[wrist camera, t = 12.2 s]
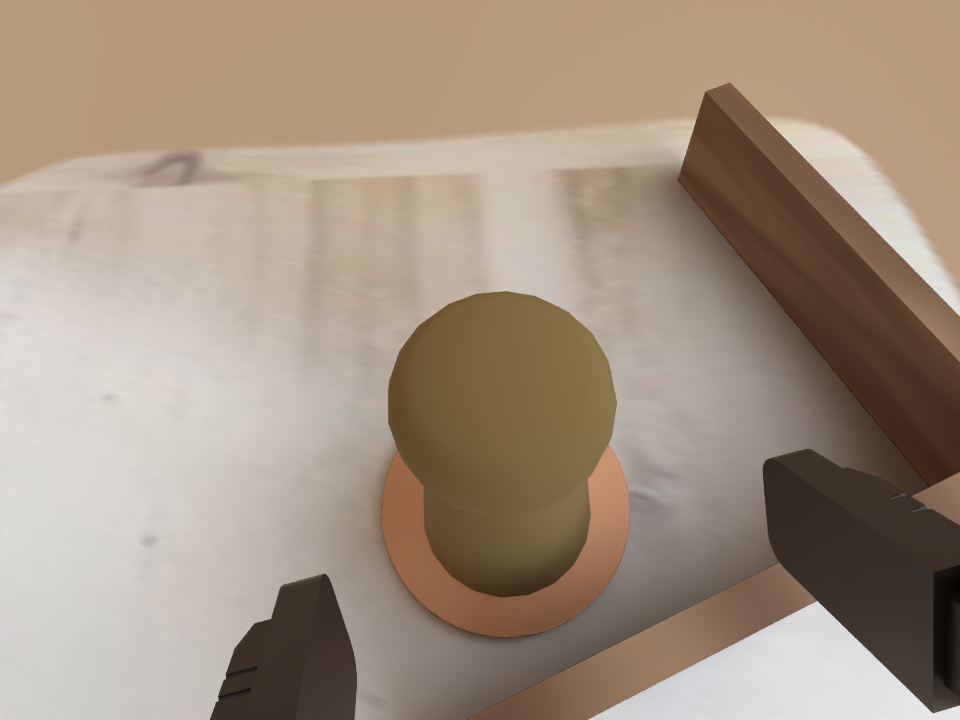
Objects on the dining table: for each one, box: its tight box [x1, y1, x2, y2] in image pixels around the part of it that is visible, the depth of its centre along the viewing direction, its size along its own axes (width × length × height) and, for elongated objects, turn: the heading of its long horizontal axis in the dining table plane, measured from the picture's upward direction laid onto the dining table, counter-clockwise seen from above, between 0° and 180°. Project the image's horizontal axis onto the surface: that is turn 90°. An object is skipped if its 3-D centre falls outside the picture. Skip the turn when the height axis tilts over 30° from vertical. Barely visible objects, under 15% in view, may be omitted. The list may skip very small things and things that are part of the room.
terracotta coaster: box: [381, 444, 630, 637], centre depth 23 cm, size 9×9×1 cm
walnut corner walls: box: [466, 83, 960, 720], centre depth 23 cm, size 22×18×5 cm
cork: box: [388, 291, 617, 598], centre depth 18 cm, size 6×6×11 cm
